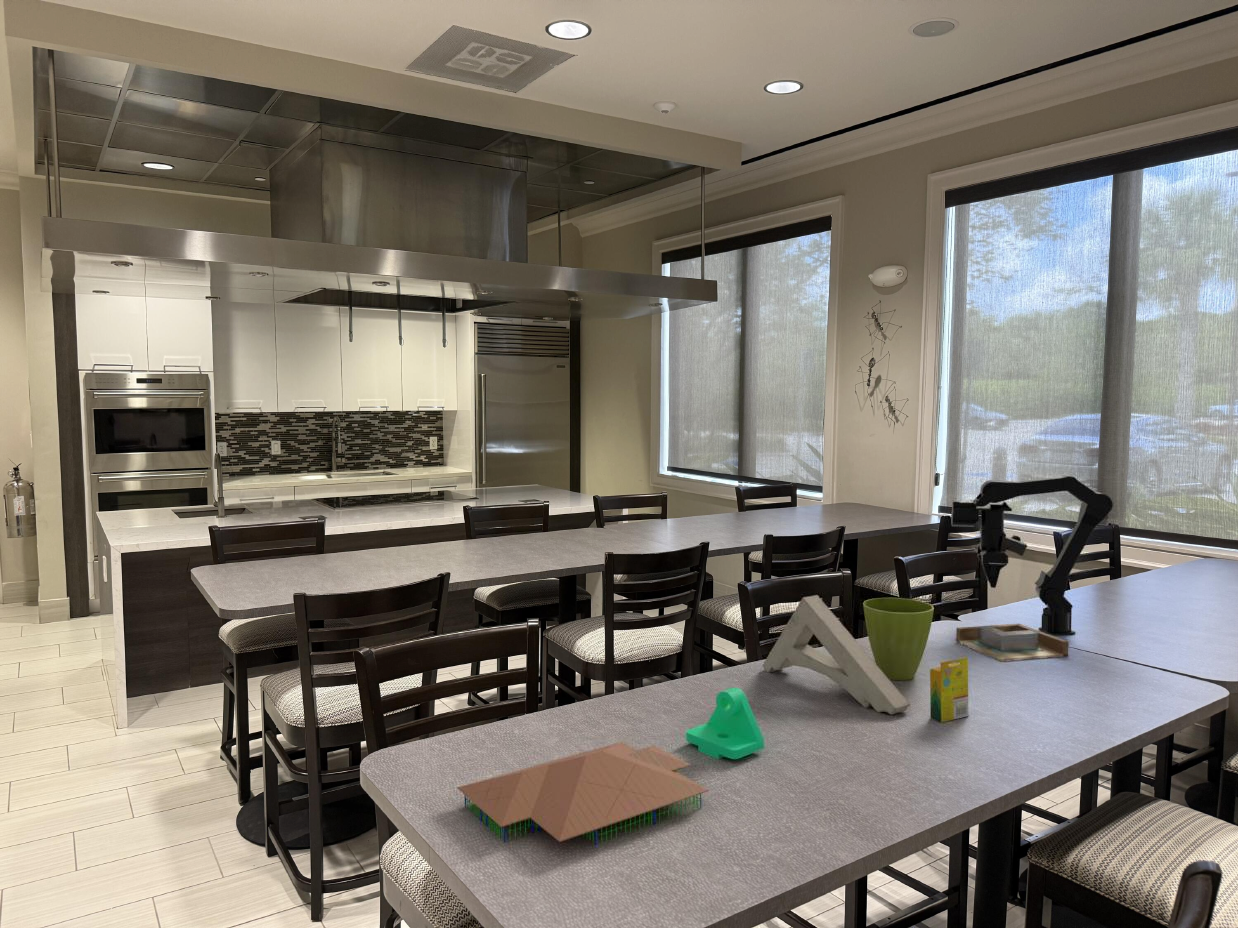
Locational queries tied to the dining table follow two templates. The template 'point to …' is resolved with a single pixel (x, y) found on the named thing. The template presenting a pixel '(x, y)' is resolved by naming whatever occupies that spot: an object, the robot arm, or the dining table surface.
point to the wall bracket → (833, 656)
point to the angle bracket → (1007, 639)
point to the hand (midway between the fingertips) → (991, 584)
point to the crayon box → (949, 690)
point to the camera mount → (728, 728)
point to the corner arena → (1046, 648)
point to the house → (585, 791)
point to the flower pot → (898, 634)
